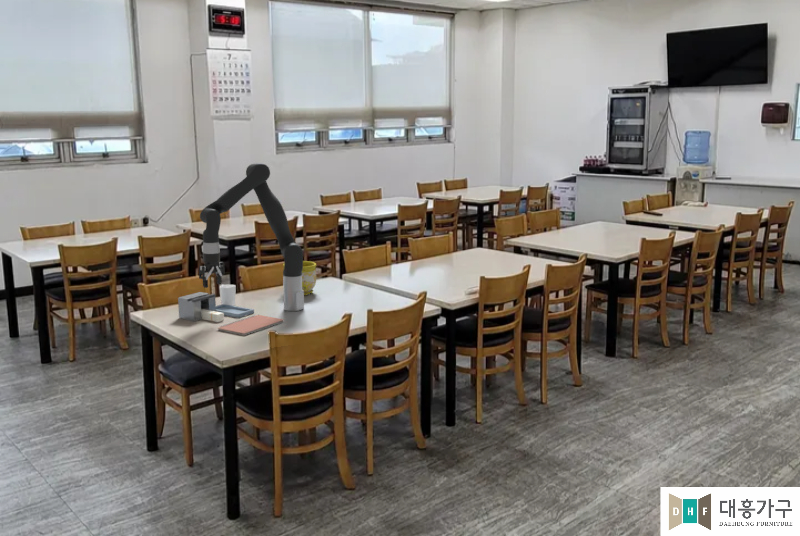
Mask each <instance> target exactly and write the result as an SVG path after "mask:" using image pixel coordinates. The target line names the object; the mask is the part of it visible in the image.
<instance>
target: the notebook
mask: <svg viewBox="0 0 800 536" xmlns="http://www.w3.org/2000/svg"><path fill="white" fill-rule="evenodd" d="M284 321H285V319H283V318H280V317H279V318H278V317H272V316H267V315H263V314H262V315H260V314H256V315H255V314H254V315H251V316H248V317H245V318H244V317H243V318H242V319H238V320H236V321H232V322H229V323H227V324H223V325H220V326H219V327H217V330H218V331H220V332H225V333H229V334H234V335H240V336H243V335H245V336H247V334H248V335H251V334H254V333H256V331H257V332H260V331H262V330H265V329H268V328H271V327H274V326H277V325H279V324H282V323H283V324H284ZM276 324H277V325H276ZM273 325H274V326H273ZM270 326H271V327H270ZM267 327H268V328H267ZM264 328H265V329H264ZM259 330H260V331H259ZM253 332H254V333H253ZM250 333H251V334H250Z"/></svg>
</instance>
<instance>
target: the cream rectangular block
mask: <svg viewBox="0 0 800 536" xmlns="http://www.w3.org/2000/svg"><path fill="white" fill-rule="evenodd" d="M200 320H205V321H210V322H216V323H221V322H223V321H225V315H224V313H221V312H216V311H210V310H205V309H201V319H200Z"/></svg>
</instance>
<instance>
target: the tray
mask: <svg viewBox="0 0 800 536" xmlns="http://www.w3.org/2000/svg"><path fill="white" fill-rule="evenodd" d="M216 312H221V313H224V316H226V317H227V316H228V317H232V318H236V319H239V318H244V317H245V316H249V315H253V314H254V313H255V309H253V308H248V307H242V306H236V305H234V306H232V305H227V304H219V305H216Z"/></svg>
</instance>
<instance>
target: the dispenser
mask: <svg viewBox="0 0 800 536" xmlns="http://www.w3.org/2000/svg"><path fill="white" fill-rule="evenodd" d="M177 300H178V301H177V302H178V303H177V304H178V318H179V319H181V320H187V321H191V322H196V321H200V320H202V319H201V309H205V310H210V311H216V306H217V303H216V294H215V293H211V294H210V293H208V292H202V291H198V292H194V293H191V294H186V295H183V296H179V297H177Z"/></svg>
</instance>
